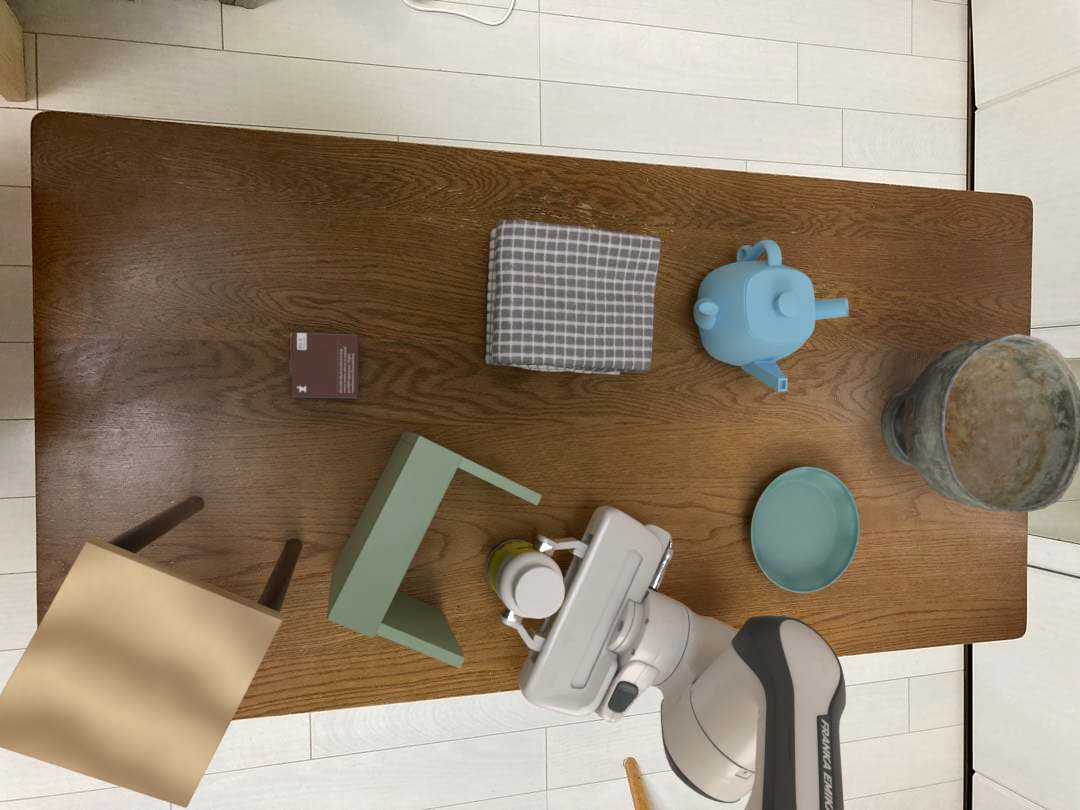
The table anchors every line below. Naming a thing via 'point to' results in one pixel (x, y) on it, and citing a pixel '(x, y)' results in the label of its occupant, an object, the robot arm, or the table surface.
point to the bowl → (991, 424)
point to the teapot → (759, 312)
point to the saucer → (805, 529)
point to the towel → (570, 298)
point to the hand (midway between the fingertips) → (519, 577)
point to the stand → (134, 673)
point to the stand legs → (186, 509)
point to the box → (324, 366)
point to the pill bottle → (525, 579)
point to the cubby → (402, 549)
